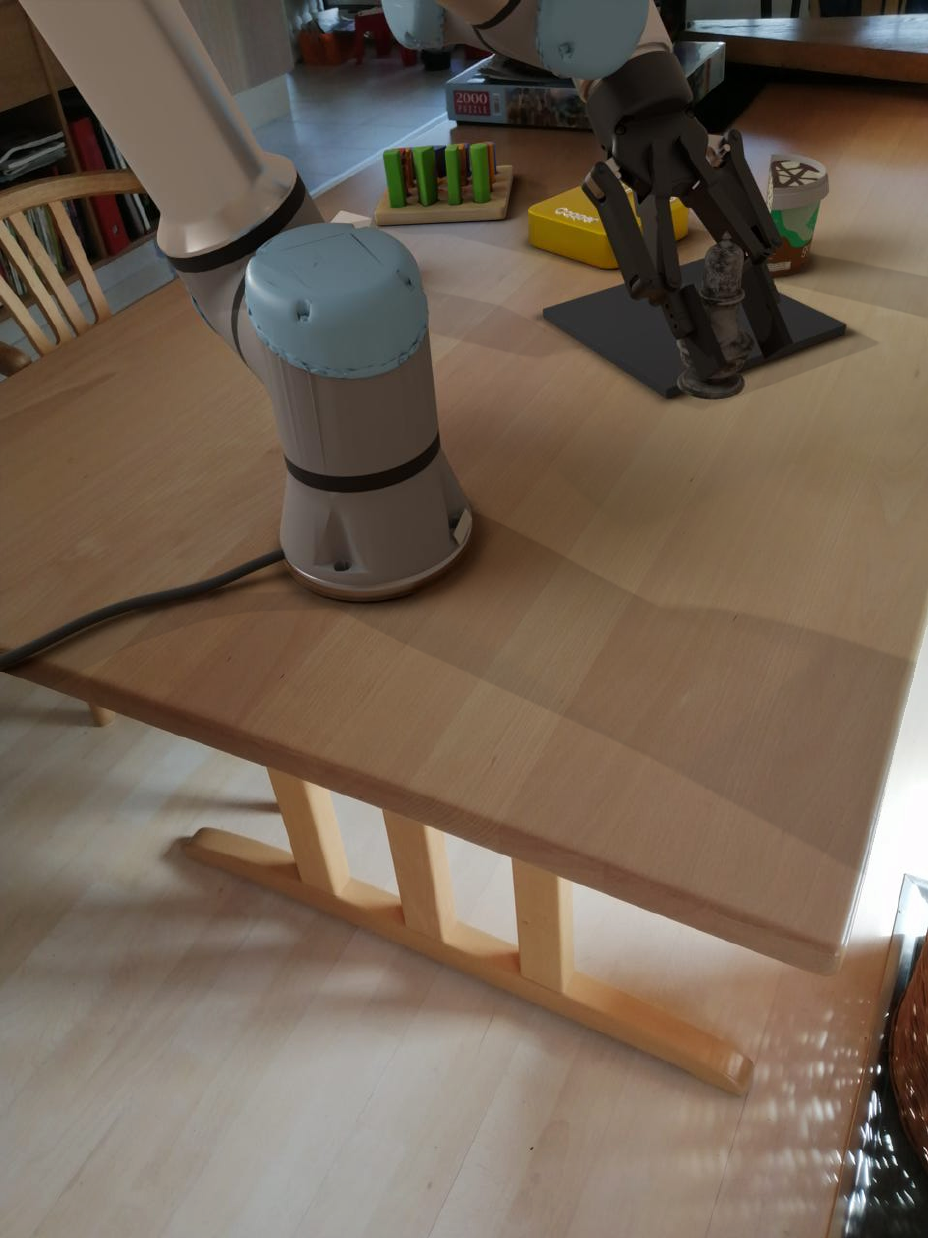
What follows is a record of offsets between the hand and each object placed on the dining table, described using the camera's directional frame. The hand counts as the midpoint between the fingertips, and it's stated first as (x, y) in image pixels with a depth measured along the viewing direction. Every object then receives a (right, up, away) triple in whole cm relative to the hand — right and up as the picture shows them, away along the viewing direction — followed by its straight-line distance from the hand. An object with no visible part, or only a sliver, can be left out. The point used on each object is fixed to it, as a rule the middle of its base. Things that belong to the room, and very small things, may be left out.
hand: (746, 361), depth 75 cm
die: (-34, +20, +44) cm, 59 cm away
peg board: (-23, +39, +64) cm, 79 cm away
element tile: (-3, +28, +49) cm, 56 cm away
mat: (+2, +11, +30) cm, 32 cm away
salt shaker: (-1, -1, +5) cm, 5 cm away
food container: (+16, +22, +40) cm, 48 cm away
